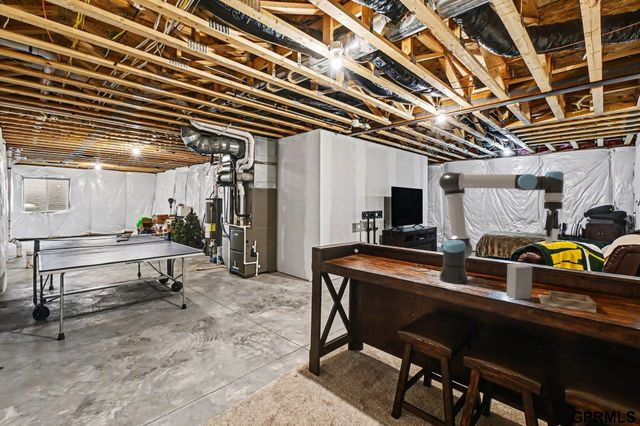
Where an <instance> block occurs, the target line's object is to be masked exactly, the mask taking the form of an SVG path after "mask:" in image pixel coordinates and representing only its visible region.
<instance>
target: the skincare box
mask: <svg viewBox="0 0 640 426" xmlns="http://www.w3.org/2000/svg"><path fill="white" fill-rule="evenodd" d="M506 268H507V270H506V296H508V297H509V298H512V299H514V300H531V299H532V293H533V292H532V290H533V288H532V287H533V270H534V269H533V266H530V265H528V264H525V263H517V264H514V263H513V264H512V263H511V264H509V263H507V267H506Z"/></svg>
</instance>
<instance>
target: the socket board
mask: <svg viewBox="0 0 640 426" xmlns="http://www.w3.org/2000/svg"><path fill="white" fill-rule="evenodd" d="M537 297H538V299H539V302H540V305H543V306H548V307H555V308H561V309H569V310H575V311H581V312H589V313H594V314H596V313H597V303H596V302H595V301H594V300H593V299H592V298H591V297H590V296H589V295H584V294H577V293H569V292H568V293H567V292H563V291H562V292H561V291H553V290H548V295H546V294H537Z"/></svg>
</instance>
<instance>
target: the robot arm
mask: <svg viewBox="0 0 640 426" xmlns="http://www.w3.org/2000/svg"><path fill="white" fill-rule="evenodd" d="M564 177H565V176H564V172H563V171H560V170H559V171H555V170H554V171H546V172H545V174H544V175H541V176H539V175H537V176H536V175H534V174H532V173H525V174H514V173H513V174H464V173H463V172H451V171H449V172H448V171H447V172H445V173H443V174H442V175H441V176H440V178H439V180H438V184H439V186H440V188H441V189H442V190H443V192H444V197H445V198H447V206H448V214H449V224H450V225H449V226H450V237H448V240H445V241H444V242H443V246H442V250H443V251H442V255H443V256H442V258H443V260H442V261H443V262H442V268H441V271H440V274H439V280H440V281H442V282H444V283H448V284H458V285H459V284H462V285H463V284H468V283H469V278H468V274H467V272H466V260H467V259H469V257H470V256H471V255H472V254H473V245H472V244H471V241H470V240H471V239H470V236H468V235H467V228H466V218H465V208H464V196H465V194H466V190H465V189H495V190H497V189H499V190H500V189H503V190H518V191H525V192H527V191H544V192H543V200H544V202H543V209H545V210H546V219H545V225H544V228H543V230H544V231H545V234H544V235H545V236H544V238H545V239H544V242H545V244H553V242H558V236H559V233H558V232H559V230H560V229H561V227H560V225H559V224H560V223H559V210H562V209H563V202H562V201H564V200H563V199H564V197H565V195H564V182H565V179H564Z"/></svg>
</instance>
